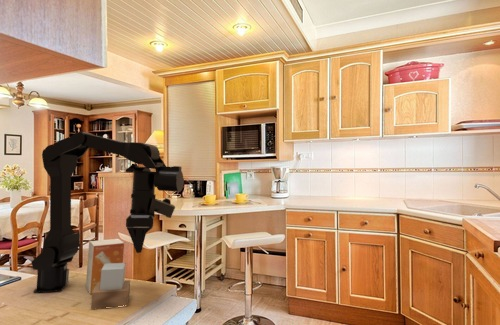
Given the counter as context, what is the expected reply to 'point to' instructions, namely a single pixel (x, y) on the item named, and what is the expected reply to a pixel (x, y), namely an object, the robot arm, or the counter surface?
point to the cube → (112, 276)
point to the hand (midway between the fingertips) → (140, 247)
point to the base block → (110, 296)
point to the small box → (102, 259)
